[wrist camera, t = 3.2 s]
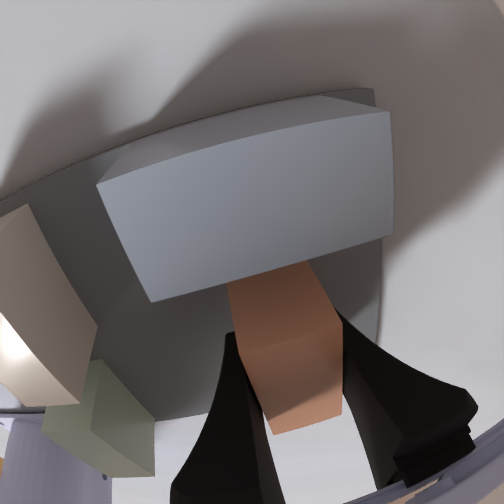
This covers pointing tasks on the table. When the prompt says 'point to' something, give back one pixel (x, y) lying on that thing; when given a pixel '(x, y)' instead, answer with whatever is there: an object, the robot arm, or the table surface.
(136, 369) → the mat
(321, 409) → the terracotta brick
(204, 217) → the bluegrey brick
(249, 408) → the robot arm
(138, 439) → the sage brick
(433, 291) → the table surface
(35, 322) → the cream brick
